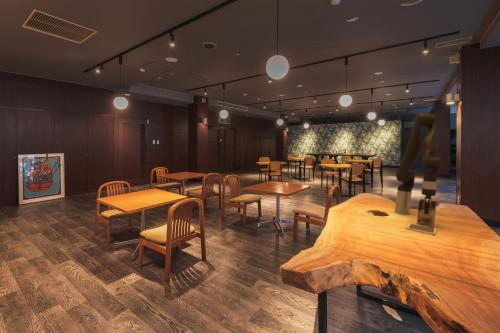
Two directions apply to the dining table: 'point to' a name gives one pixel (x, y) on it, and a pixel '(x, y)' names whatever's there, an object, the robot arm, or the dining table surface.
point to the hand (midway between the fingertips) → (426, 212)
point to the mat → (421, 229)
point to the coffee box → (426, 218)
